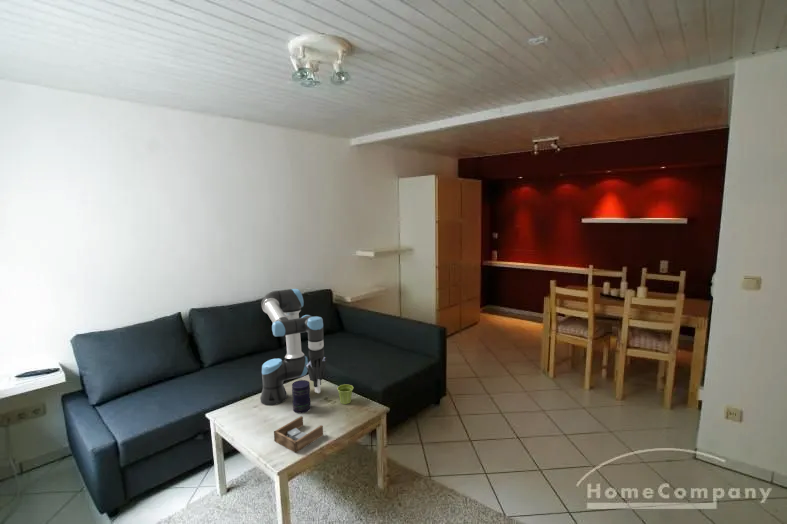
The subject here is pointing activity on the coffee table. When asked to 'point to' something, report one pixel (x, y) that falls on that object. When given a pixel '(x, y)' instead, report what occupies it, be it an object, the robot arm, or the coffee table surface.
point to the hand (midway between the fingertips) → (317, 391)
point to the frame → (300, 443)
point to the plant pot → (345, 393)
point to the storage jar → (301, 396)
